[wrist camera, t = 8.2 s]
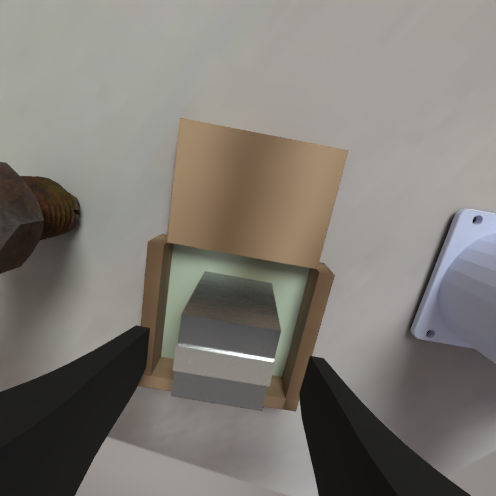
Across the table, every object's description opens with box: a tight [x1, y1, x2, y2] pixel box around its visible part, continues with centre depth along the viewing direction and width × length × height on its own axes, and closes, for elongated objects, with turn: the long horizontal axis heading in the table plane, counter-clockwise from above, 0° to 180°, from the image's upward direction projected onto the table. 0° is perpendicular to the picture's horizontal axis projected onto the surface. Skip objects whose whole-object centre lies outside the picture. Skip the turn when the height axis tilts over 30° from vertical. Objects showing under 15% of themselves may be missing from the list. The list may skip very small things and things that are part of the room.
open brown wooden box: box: [138, 118, 348, 411], centre depth 14 cm, size 10×15×2 cm, turn 170°
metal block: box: [171, 271, 281, 411], centre depth 13 cm, size 4×4×5 cm
